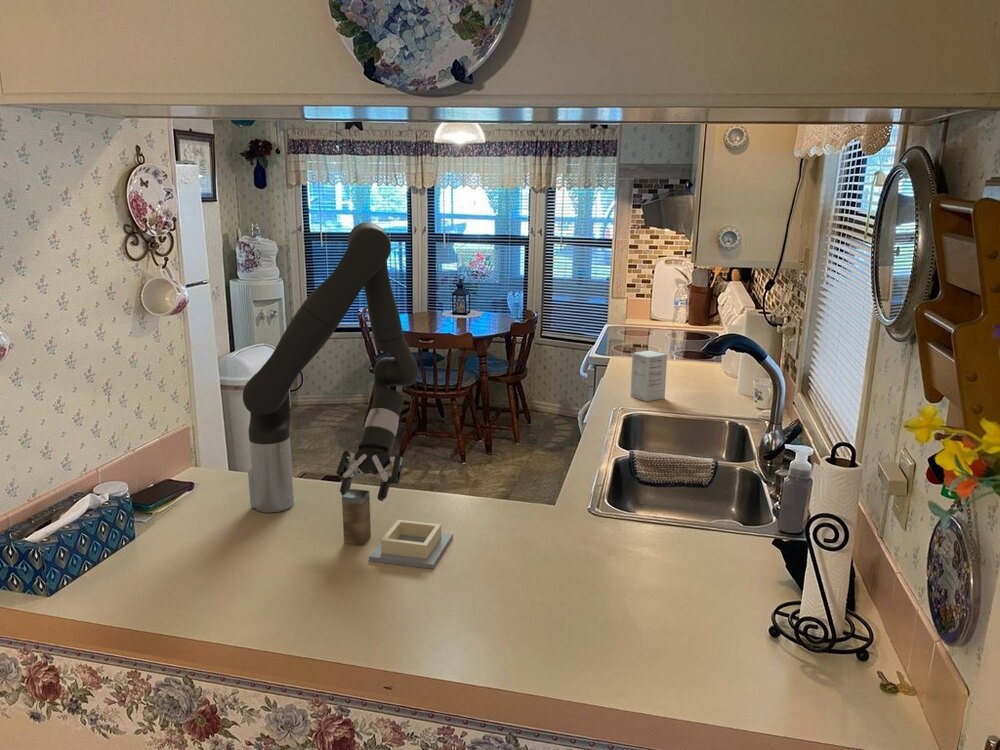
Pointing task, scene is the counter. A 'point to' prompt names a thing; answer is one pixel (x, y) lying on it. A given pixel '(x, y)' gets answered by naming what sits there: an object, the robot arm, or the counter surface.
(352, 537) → the tall grey-topped block
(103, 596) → the counter surface
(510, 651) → the counter surface
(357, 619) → the counter surface
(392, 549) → the jig
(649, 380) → the supplement box
